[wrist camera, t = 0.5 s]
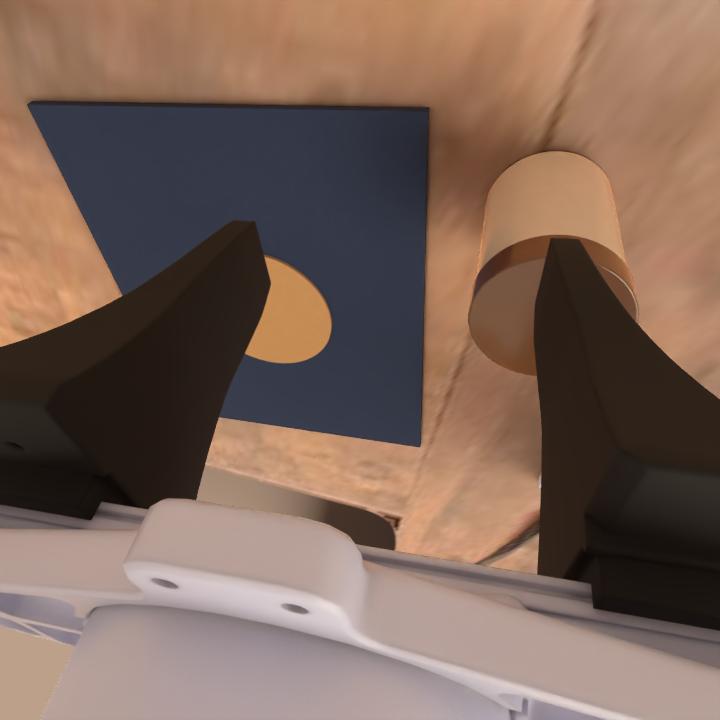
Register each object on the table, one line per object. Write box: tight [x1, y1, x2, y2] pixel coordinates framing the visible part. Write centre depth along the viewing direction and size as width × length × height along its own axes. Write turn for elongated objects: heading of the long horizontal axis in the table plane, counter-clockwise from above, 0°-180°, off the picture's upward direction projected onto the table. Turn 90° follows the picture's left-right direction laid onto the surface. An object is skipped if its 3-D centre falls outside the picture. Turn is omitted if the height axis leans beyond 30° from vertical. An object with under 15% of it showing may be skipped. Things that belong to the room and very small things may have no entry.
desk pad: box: [27, 101, 429, 447], centre depth 30 cm, size 22×18×1 cm
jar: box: [468, 151, 639, 376], centre depth 19 cm, size 5×5×7 cm
